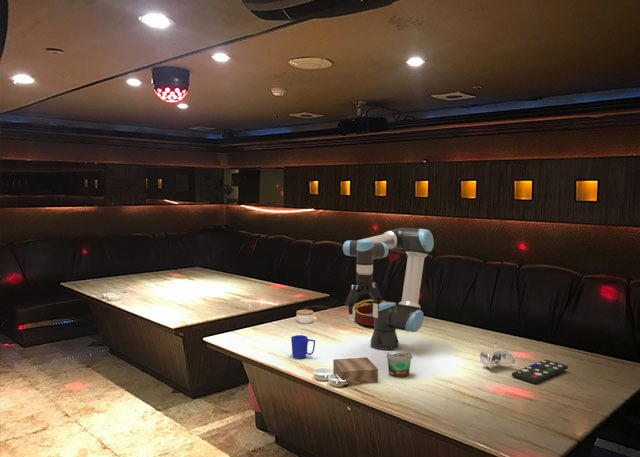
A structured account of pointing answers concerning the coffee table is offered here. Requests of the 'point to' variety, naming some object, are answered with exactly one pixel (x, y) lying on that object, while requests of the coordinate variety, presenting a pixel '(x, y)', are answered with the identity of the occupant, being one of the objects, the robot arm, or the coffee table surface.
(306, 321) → the lidded jar
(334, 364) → the walnut riser
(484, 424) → the coffee table surface
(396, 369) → the food container
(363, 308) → the decorative basket
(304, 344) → the mug
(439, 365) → the coffee table surface
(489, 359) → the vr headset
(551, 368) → the remote control
